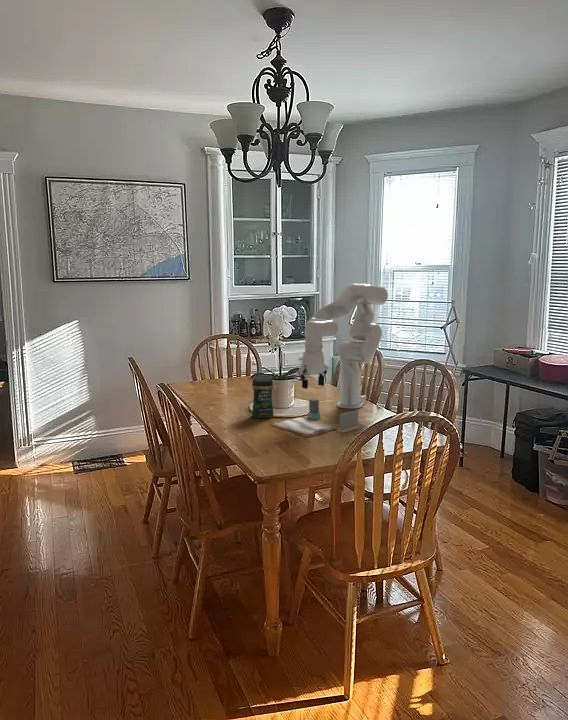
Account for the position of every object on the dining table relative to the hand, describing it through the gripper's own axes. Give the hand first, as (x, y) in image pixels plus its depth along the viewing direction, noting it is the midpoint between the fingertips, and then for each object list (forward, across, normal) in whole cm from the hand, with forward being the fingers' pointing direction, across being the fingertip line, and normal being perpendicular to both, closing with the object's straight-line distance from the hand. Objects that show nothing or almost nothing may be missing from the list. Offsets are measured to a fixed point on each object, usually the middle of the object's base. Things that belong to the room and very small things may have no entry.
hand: (313, 386), depth 261 cm
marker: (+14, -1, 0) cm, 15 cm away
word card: (+15, 0, +23) cm, 27 cm away
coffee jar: (+15, +15, -17) cm, 27 cm away
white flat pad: (+15, +12, +8) cm, 21 cm away
